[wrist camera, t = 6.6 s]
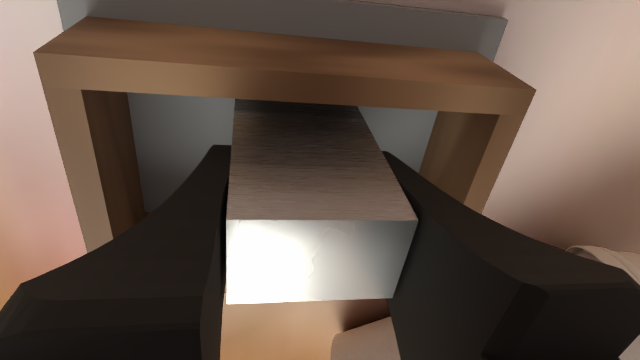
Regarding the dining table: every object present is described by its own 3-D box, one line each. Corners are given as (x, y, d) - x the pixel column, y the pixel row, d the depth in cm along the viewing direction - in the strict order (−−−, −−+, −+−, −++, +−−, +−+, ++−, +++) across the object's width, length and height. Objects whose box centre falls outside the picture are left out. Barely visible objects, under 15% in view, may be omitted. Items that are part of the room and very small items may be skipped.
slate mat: (502, 17, 14) (508, 20, 13) (422, 239, 20) (425, 245, 19) (55, -33, 11) (49, -32, 11) (114, 241, 17) (111, 248, 17)
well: (477, 52, 14) (536, 90, 11) (417, 227, 18) (448, 285, 16) (86, 16, 12) (33, 52, 9) (126, 227, 16) (99, 297, 13)
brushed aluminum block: (235, 86, 13) (226, 219, 8) (350, 93, 14) (418, 220, 8) (234, 183, 16) (226, 343, 10) (334, 185, 16) (379, 335, 11)
